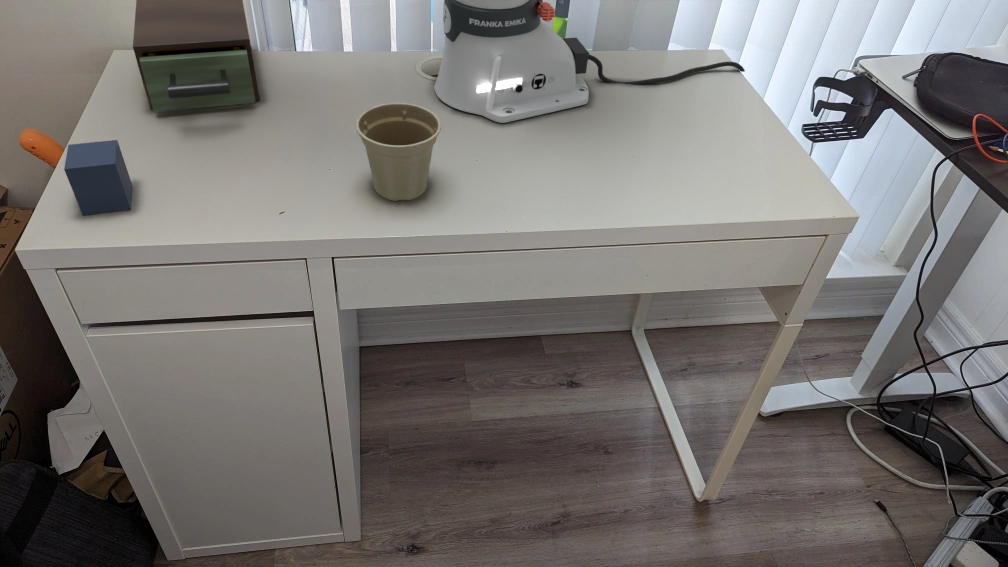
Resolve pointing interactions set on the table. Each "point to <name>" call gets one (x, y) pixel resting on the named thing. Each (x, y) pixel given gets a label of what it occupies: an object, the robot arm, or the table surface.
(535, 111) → the robot arm
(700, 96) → the table surface
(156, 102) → the drawer
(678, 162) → the table surface
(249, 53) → the cabinet
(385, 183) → the flower pot
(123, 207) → the block
